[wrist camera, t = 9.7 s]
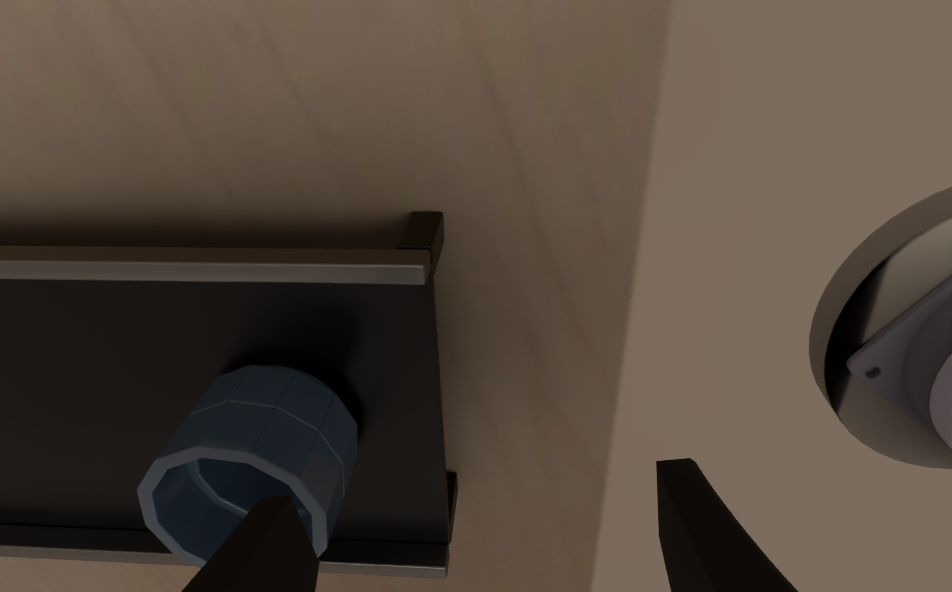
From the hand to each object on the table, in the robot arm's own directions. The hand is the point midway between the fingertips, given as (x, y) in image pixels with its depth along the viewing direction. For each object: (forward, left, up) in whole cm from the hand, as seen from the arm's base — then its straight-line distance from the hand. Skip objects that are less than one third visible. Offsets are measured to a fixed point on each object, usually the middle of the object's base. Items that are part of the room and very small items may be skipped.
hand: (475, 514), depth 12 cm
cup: (+3, +7, -6) cm, 10 cm away
